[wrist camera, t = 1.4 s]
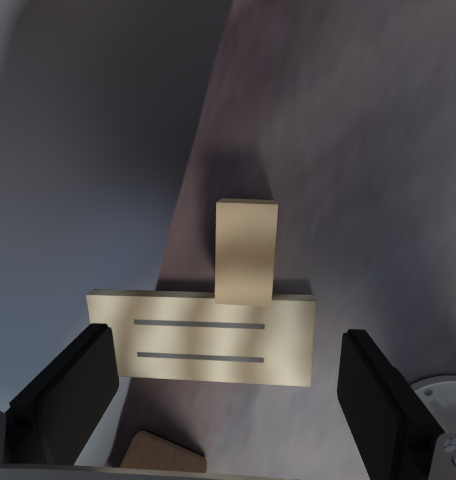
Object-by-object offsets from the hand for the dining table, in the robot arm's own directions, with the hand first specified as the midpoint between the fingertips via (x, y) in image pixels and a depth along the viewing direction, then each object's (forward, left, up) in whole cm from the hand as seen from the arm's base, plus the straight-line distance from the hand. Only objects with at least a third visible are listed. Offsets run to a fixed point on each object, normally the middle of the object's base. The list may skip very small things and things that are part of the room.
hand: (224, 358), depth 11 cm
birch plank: (+4, +10, -17) cm, 21 cm away
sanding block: (-1, 0, -18) cm, 18 cm away
